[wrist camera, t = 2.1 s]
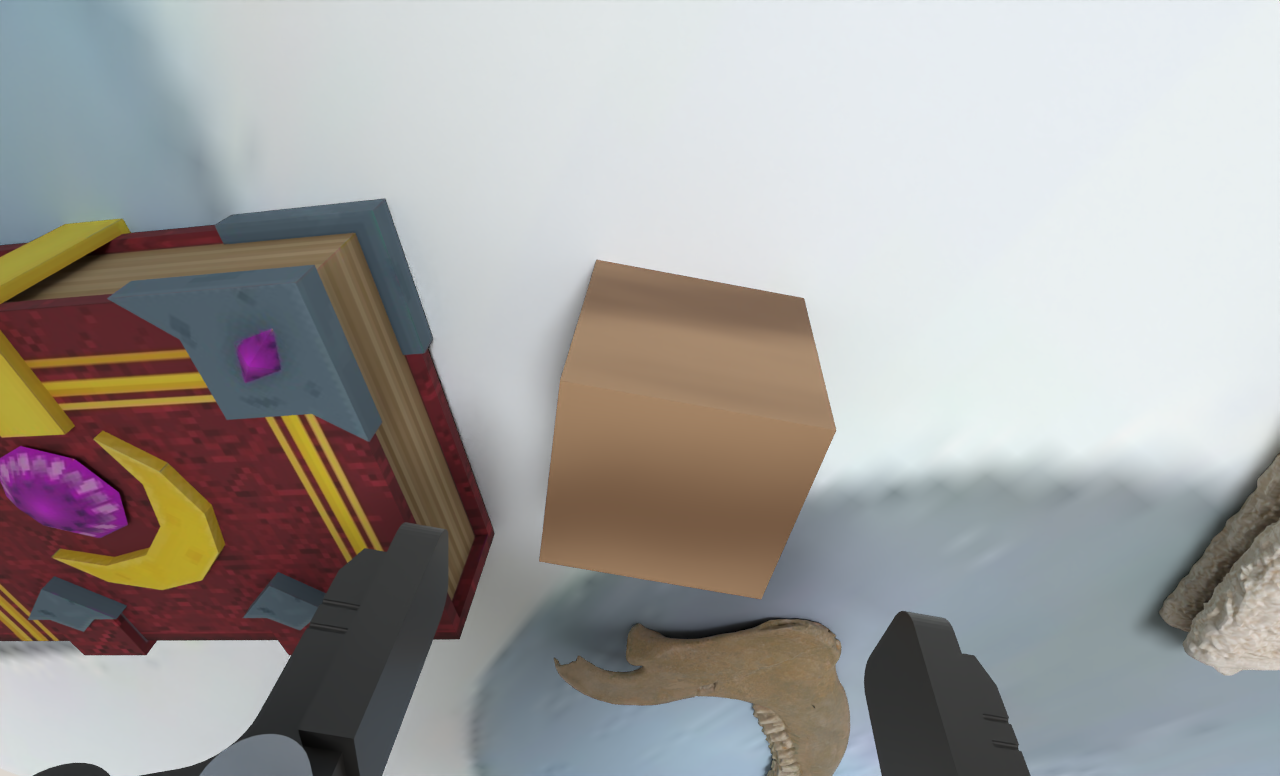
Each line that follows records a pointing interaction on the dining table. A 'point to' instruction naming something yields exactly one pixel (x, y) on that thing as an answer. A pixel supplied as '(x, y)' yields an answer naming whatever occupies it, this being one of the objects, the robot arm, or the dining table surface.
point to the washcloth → (1236, 588)
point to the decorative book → (217, 428)
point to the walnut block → (684, 431)
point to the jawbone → (741, 684)
